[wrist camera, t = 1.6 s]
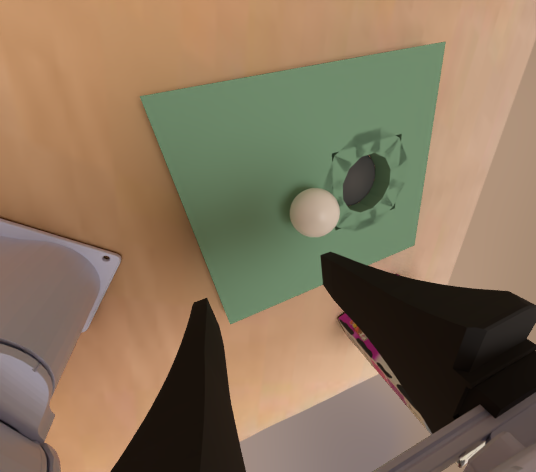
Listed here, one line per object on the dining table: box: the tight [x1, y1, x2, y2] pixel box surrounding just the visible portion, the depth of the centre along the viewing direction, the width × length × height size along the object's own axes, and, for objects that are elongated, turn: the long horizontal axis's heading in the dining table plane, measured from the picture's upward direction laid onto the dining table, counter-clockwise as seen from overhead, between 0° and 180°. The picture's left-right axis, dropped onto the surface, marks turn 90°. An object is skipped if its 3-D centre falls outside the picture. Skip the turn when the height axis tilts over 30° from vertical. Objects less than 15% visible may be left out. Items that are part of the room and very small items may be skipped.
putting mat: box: [140, 42, 445, 324], centre depth 22 cm, size 24×20×2 cm
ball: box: [290, 188, 340, 237], centre depth 19 cm, size 4×4×4 cm
